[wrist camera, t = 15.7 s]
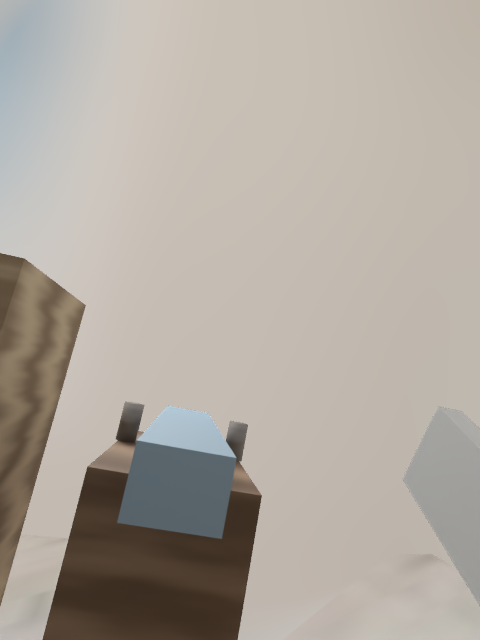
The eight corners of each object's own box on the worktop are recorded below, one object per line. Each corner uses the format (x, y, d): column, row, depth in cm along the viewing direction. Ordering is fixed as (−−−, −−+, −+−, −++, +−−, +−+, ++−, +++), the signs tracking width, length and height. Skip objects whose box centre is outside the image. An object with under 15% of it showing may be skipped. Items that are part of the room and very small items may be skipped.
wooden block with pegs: (197, 911, 18) (275, 443, 22) (-33, 903, 16) (96, 411, 21) (192, 662, 33) (238, 418, 37) (73, 649, 32) (135, 398, 36)
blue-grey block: (221, 539, 14) (236, 458, 15) (117, 522, 14) (136, 440, 14) (201, 444, 35) (208, 413, 36) (161, 436, 35) (168, 405, 36)
